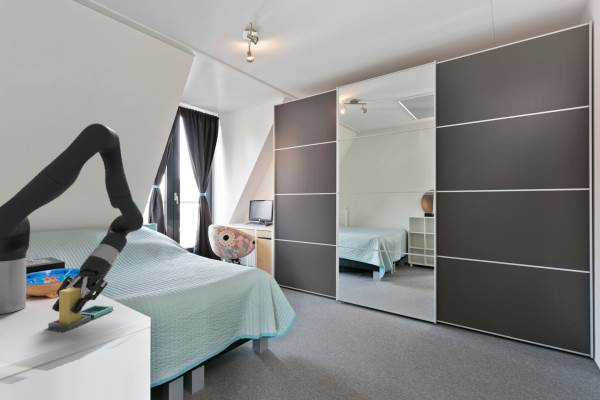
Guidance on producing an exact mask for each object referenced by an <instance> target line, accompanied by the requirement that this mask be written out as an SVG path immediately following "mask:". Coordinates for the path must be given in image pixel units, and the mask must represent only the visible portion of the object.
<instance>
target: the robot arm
mask: <svg viewBox="0 0 600 400" xmlns="http://www.w3.org/2000/svg"><path fill="white" fill-rule="evenodd" d="M121 151H122V149H121V142H120V137H119V135H118V133H117V132H116V131H115V130H114V129H113V128H110V127H108V126H106V125H104V124H102V123H100V122H99V123H96V122H95V123H91V124H89V125H87V126H86V127H84V129H83V130H81V132H80V133H78V135H77V136H76V137H75V139H74V140H73V141H72V142H71V143H70V145H69V146H67V147H66V148H65V150H63V151H62V152H61V153H60V154H59V155H57V156H56V157H55V158H54V159H53V160H52V161H51V162H50V163H48V165H46V166H45V167H44V168H42V170H41V171H40V172H39V173H37V174H36V175H35V176H34V177H33V178H32V179H31V180H30V181H29V182H27V184H25V185H24V186H23V187H22V188H21V189H20V190H19V191H18V192H17V193H16V194H14V195H13V196H12V197H11V198H10V199H9V200H7V201H6V202H5V203H4V204H2V205H1V206H0V315H3V314H5V315H6V314H8V313H13V312H17V311H21V310H22V309H25V308H26V306H27V252H28V250H29V248H30V247H29V246H30V238H31V223H30V220H29V218H28V216H30V215H31V214H32V213H34V212H35V211H37V210H39V209H40V208H41V207H44V206H46V205H47V204H48V205H49V203H51V202H53V201H54V200H56V199H57V198H59V197H60V196H62V195H63V194H65V192H66V191H68V189H70V188H71V187H72V186H73V185H74V184H75V182H76V181H77V179H78V177H79V175H80V173H81V171H82V169H83V167H84V165H85V164H86V163H88V161H89V160H90V159H92V157H94V156H95V155H96V154H97V153H99V156H100V158H101V160H102V162H103V166H104V183H105V191H106V192H107V196H108V199H109V202H110V206H111V207H112V208H113V209H118V210H119V211H120V215H118V216H116V217H115V218H114V219H113V220H112V222H111V223H110V225H109V227H108V229H107V232H106V235H105V236H104V237H103V238H102V240H100V242H99V243H98V245H97V246H96V247H95V248H94V249H93V250H92V251H91V253H90V254H89V255H88V257H87V258H86V259H85V261H84V262H83V263H82V264H81V265H80V267H79V272H78V274H77V275H75V277H73V276H70V275H67V276H66V277H65V278H64V280H63V282H62V283H61V285H60V286H59V287H58V289H57V291H56V293H55V294H56V295H58V296H59V291H61V290H64V289H68V288H71V287H73V288H81V299H80V298H79V299H78V300H77V302H76V303H75V305H74V306H73V307H72V309H71V312H73V313H75V314H78V313H79V312H80V311H81V310H83V308H84V306H86V303H88V302H90V301H95V300H96V299H97V298H99V295H101V293H102V292H103V290H104V289H105V288H106V287H107V285H108V284H109V283H108V281H106V279H105V278H106V276H107V275H108V273H109V272H110V270H111V269H112V268H113V266H114V265H115V263H116V262H117V260H118V257H119V256H120V254H121V253H122V251H123V250H124V248H125V247H126V245H127V243H128V240H127V236H128V235H129V234H131V233H133V232H137V231H139V230H141V229H142V227H143V225H144V217H143V213H142V212H141V211H140V209H139V207H138V205H137V204H136V202H135V200H134V199H133V196H132V192H131V190H130V186H129V183H128V180H127V177H126V172H125V167H124V163H123V158H122V153H121ZM51 310H52V311H55V312H58V313H59V298H58V299H57V300H56V301H55V302H54V304H53V305H52V309H51Z"/></svg>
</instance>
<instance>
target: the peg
mask: <svg viewBox="0 0 600 400" xmlns="http://www.w3.org/2000/svg"><path fill="white" fill-rule="evenodd" d="M81 293H82V291H81V288H74V287H71V288H68V289H63V290H61V291H59V295H58V296H59V297H58V299H59V312H58V314H59V316H58V317H59V318H58V319H59V323H61V324H71V323H73V322H76V321H78V320H80V319H81V311H80V312H79V313H78V314H75V313H73V312H71V309H72V307H73V306H74V305H75V303H76V302H77V300H78V299H79V298H80V299H81Z"/></svg>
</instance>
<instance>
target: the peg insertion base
mask: <svg viewBox="0 0 600 400" xmlns="http://www.w3.org/2000/svg"><path fill="white" fill-rule="evenodd" d="M113 311H114V306H110V305H108V306H107V305H99V304H95V305H92V306H89V307H86V308H84V309H81V319H80V320H78V321H76V322H73V323H71V324H61V323H59V318H58V319H55V320H53V321H51V322H48V323H47V324H48V325H47V327H46V328H44V329H43V331H47V332H54V333H61V334H63V333H66V332H68V331H70V330H73V329H74V328H77V327H79V326H82V325H83V324H86V323H89V322H91V321H92V320H95V319H97V318H100V317H102V316H104V315H106V314H109V313H110V312H113Z"/></svg>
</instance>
